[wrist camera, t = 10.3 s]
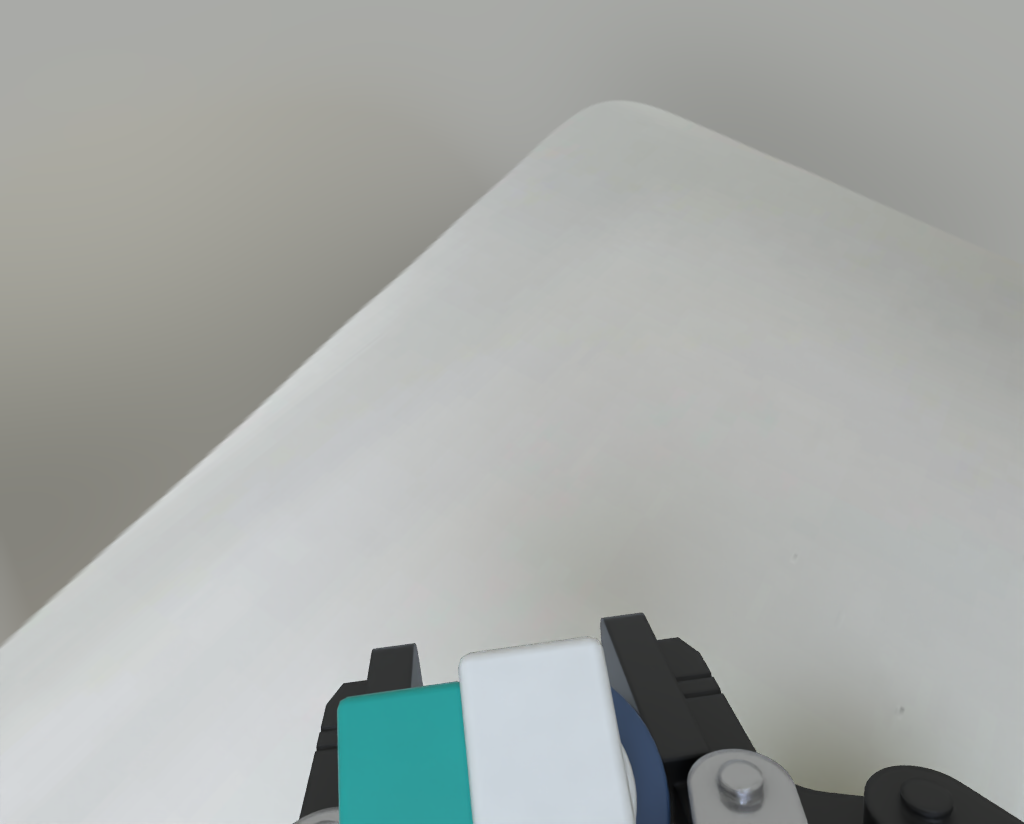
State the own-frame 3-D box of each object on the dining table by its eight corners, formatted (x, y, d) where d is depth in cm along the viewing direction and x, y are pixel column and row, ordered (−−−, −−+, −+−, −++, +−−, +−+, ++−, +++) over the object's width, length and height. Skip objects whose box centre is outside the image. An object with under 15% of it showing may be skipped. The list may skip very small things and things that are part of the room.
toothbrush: (580, 739, 19) (725, 496, 6) (604, 886, 18) (885, 1042, 4) (455, 758, 19) (291, 553, 5) (469, 907, 18) (286, 1145, 4)
